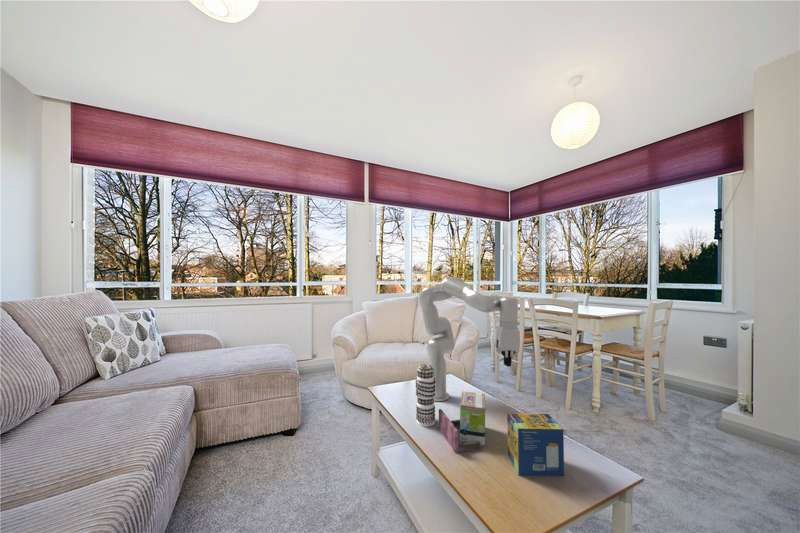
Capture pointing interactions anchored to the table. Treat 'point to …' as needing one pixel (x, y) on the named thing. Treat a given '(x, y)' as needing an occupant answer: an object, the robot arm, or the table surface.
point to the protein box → (535, 445)
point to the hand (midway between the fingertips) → (507, 365)
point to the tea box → (472, 418)
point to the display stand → (454, 434)
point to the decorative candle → (425, 395)
